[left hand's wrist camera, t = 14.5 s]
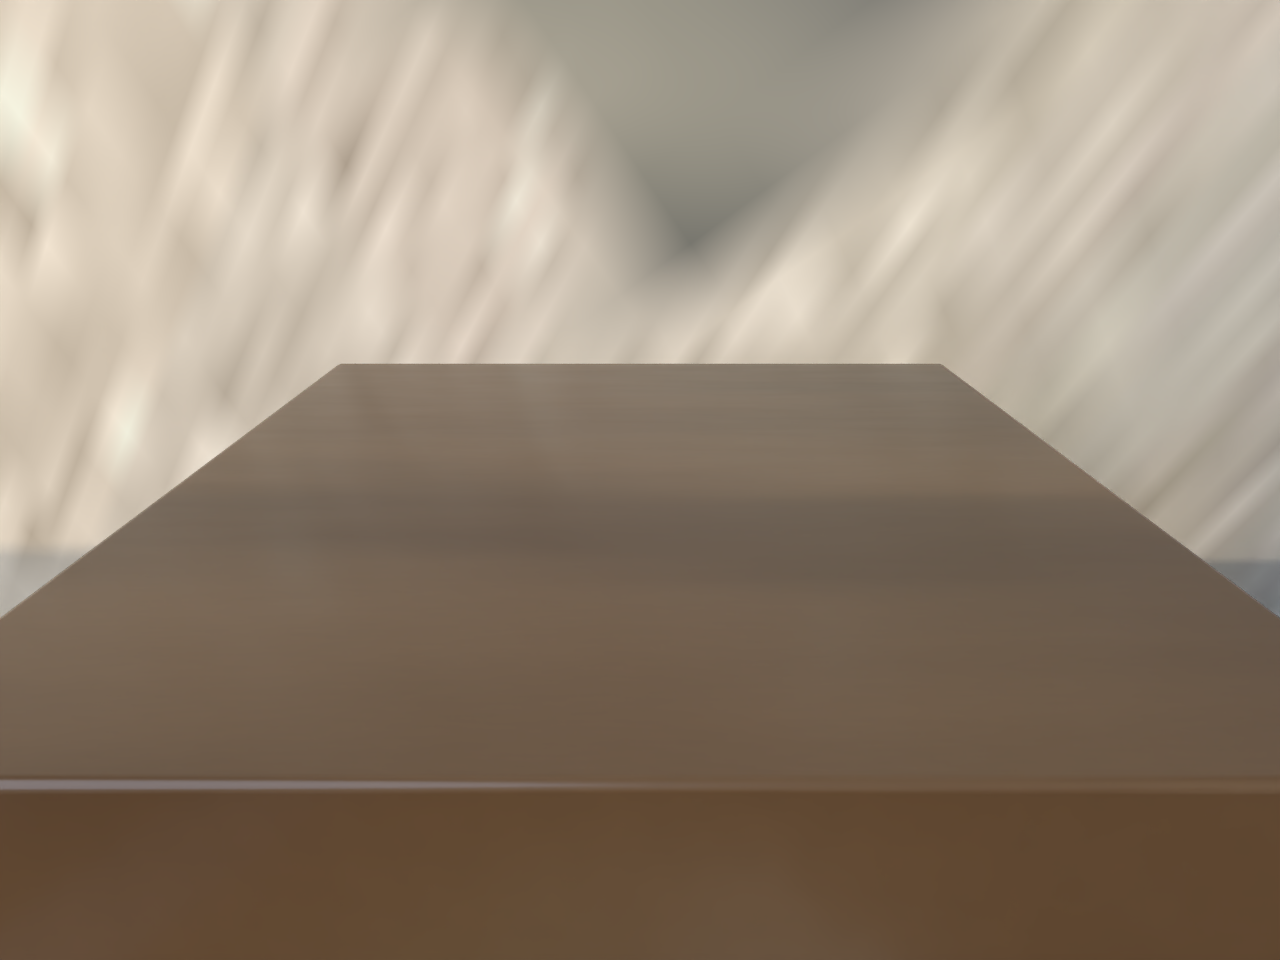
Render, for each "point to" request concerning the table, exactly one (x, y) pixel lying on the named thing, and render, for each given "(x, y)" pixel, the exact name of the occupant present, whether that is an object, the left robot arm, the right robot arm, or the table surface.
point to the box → (640, 689)
